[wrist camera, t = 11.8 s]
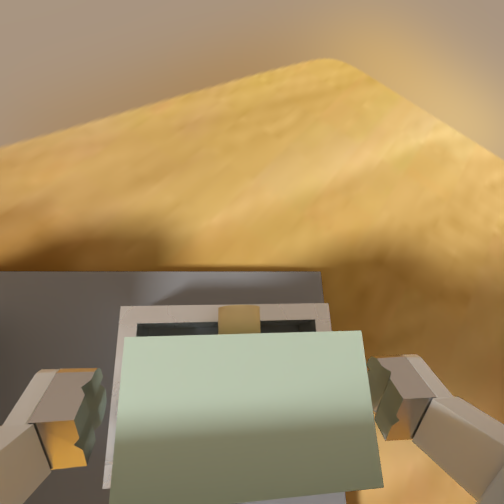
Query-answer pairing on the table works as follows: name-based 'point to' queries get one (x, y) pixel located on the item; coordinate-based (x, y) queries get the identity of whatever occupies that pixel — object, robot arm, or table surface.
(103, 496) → the gray base with shelf
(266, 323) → the hollow rectangular frame
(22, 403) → the robot arm
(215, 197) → the table surface
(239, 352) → the tall mint green pillar
